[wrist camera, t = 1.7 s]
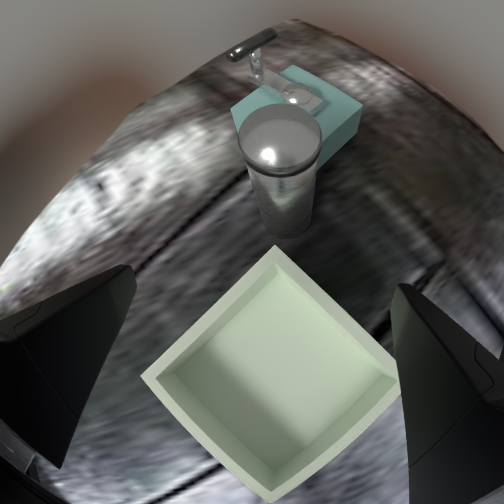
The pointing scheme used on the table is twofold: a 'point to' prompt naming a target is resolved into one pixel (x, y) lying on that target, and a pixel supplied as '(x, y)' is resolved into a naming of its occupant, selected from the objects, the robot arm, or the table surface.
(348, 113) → the crank block
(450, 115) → the table surface
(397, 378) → the tray
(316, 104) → the crank handle
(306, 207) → the pin
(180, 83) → the table surface
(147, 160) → the table surface
